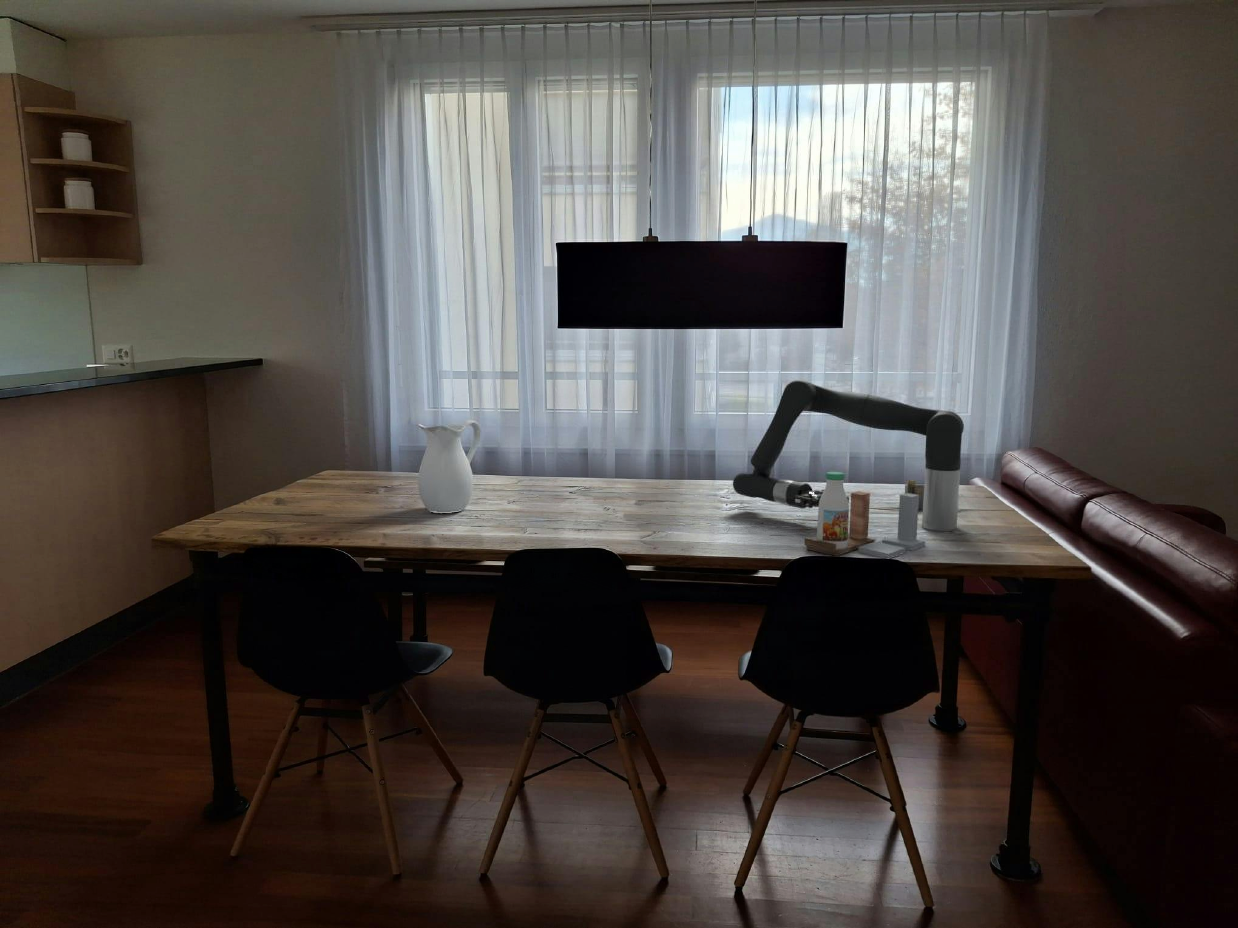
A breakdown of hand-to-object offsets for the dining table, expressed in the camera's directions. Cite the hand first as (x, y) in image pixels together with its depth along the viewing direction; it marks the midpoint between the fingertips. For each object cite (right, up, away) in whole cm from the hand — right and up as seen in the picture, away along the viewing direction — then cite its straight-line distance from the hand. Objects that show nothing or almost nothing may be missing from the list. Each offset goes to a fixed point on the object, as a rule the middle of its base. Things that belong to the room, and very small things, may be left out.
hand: (839, 502), depth 236 cm
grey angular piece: (+9, -11, -17) cm, 23 cm away
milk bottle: (-7, -11, -18) cm, 23 cm away
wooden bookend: (-4, -11, -15) cm, 19 cm away
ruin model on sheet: (+34, -4, +30) cm, 46 cm away
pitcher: (-114, -3, +31) cm, 118 cm away
